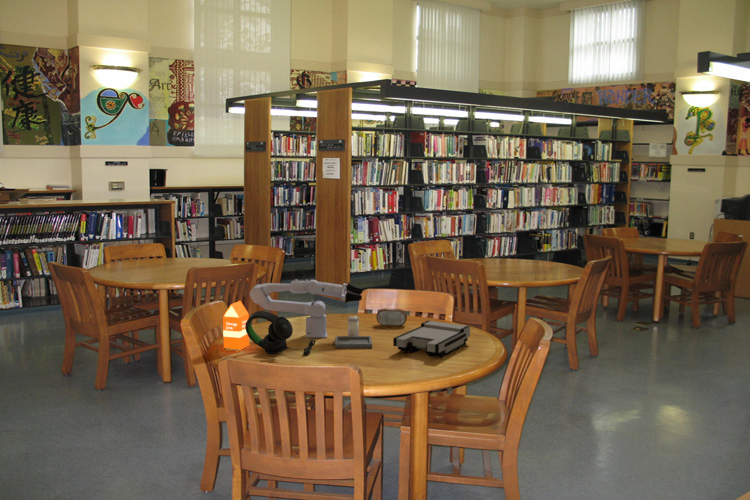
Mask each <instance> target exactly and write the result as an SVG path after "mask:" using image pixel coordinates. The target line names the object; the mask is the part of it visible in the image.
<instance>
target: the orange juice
mask: <svg viewBox="0 0 750 500" xmlns="http://www.w3.org/2000/svg"><path fill="white" fill-rule="evenodd" d="M249 317H250V315H249V312H248V310H247V309H246V308H245V305H244V304H243V302H242V301H241V300H238V301H237V302H234V303H231V304H230V305H229V307H228V308H227V310H226V311H225V313H224V315H223V318H222V322H223V323H222V324H223V329H222V330H223V331H222V333H223V349H224V348H230V349H238V350H241V349H243V348H245V347H247V346H249V347H250V338H249V336H248V335H247V333H246V329H245V324H246V321H247V320H248V318H249ZM247 348H248V347H247Z"/></svg>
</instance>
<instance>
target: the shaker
mask: <svg viewBox="0 0 750 500" xmlns="http://www.w3.org/2000/svg"><path fill="white" fill-rule="evenodd" d="M359 319H360V317H359V316H348V317H347V336H360V333H359V332H360V328H359V327H360V325H359V323H360V320H359Z"/></svg>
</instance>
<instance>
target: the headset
mask: <svg viewBox="0 0 750 500" xmlns="http://www.w3.org/2000/svg"><path fill="white" fill-rule="evenodd" d="M257 319H263V320H266V321H268V322H270V324H269V325H268V329H267V331H268V334H266V335H265V336H264V338H261V336H259V335H258V334H257V333H256V331H255V330H254V328H253V326H252V324H253V320H257ZM245 329H246V333H247V335H248V336H249V340H251V342H253V343H254V344H255V345H257V346H258V347H259V348H261V349H263V350H264V352H265V353H266V354H268V355H271V354H273V355H278V354H281V353H282V352H283V351H286V350H287V349H291V350H294V351H298V350H302V348H296V349H295V348H292V347H290V346H288V345H287V339H290V337H292V335H293V325H292V323H291V322H290V321H289V319H288V318H287V317H284V316H278V315H276V314H274V313H271V312H269V311H266V310H265V311H264V310H261V311H260V310H259V311H255V312H253V313H252V314H251V315H249V318H248V320H247V321H246V324H245ZM316 342H317V341H316V340H315V338H311V339H309V341H308V346H307V347H304V348H303V352H302V354H303V355H304V356H308V355H309V354H310V352H311V350H313V347H314V346H315V345H316Z"/></svg>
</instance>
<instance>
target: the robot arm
mask: <svg viewBox="0 0 750 500" xmlns="http://www.w3.org/2000/svg"><path fill="white" fill-rule="evenodd" d="M288 291H289V292H290V293H291V294H307V293H309V294H311V295H316V294H318V295H322V296H329V297H334V298H335V297H336V298H339V299H340V300H341V301H345V303H350V302H355V301H356V302H357V301H362V298H363V296H362V294H363V288H361V287H358V286H356V285H354V284H353V283H351V282H347V283H345V282H344V283H342V284H336V283H331V282H323V281H318V280H316V279H305V280H298V279H294V280H291V281H290V283H274V282H272V283H270V282H269V283H267V282H266V283H262V284H261V283H257V284H256V285H254V286H253V287H252V288H251V290H250V291H249V297H250V299H251V300H252V302H253V303H254V304H257V305H258V306H259V307H260V308H261V309H264V310H265V311H274V312H283V313H284V312H285V313H295V314H296V313H298V314H305V315H307V317H306V318H305V338H307V339H308V338H311V339H315V338H319V339H321V338H323V339H324V338H328V332H327V315H326V313H325V311H326V309H327V307H326V306H327V305H326V303H325V302H324V301H322V300H316V301H310V302H309V301H308V302H306V301H305V302H302V301H291V300H280V299H272V297H271V296H270V295H269V294H271V293H272V292H274V293H275V292H288Z"/></svg>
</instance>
